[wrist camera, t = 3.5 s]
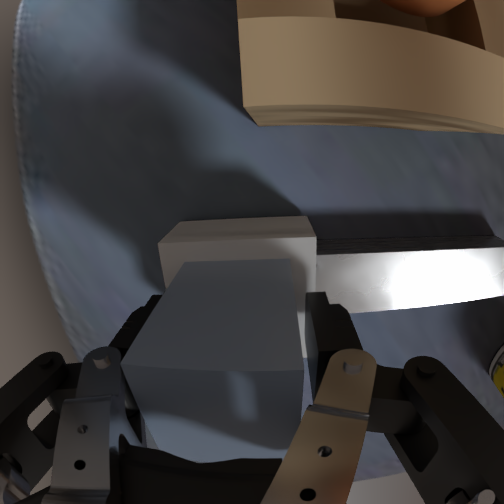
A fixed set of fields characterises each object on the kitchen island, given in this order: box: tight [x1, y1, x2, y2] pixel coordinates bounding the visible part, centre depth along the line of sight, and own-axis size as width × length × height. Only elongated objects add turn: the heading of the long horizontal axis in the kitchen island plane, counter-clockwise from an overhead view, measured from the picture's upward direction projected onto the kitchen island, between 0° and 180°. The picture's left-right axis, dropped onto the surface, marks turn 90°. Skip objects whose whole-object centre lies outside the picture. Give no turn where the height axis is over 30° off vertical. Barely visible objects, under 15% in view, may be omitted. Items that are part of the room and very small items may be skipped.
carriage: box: [120, 216, 316, 462], centre depth 11 cm, size 6×6×9 cm
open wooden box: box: [237, 0, 504, 134], centre depth 8 cm, size 8×8×8 cm
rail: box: [315, 236, 504, 313], centre depth 14 cm, size 18×3×2 cm, turn 93°
